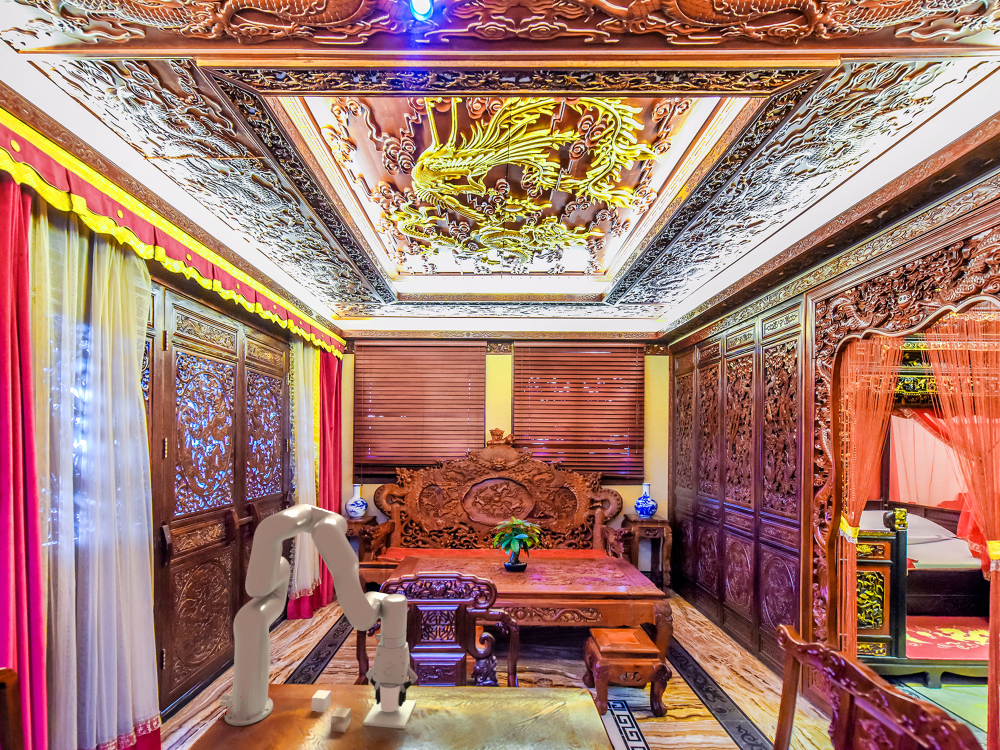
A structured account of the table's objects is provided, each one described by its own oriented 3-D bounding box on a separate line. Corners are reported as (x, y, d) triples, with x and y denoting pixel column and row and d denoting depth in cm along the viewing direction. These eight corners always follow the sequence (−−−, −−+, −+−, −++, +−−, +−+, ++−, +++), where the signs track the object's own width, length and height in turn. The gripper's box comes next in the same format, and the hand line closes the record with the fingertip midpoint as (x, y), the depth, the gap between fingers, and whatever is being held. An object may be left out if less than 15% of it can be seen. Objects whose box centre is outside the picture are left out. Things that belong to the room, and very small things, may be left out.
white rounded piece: (396, 715, 137) (397, 689, 138) (374, 711, 138) (375, 686, 139) (406, 701, 144) (406, 676, 144) (384, 698, 145) (385, 673, 146)
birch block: (330, 731, 133) (331, 715, 133) (336, 722, 137) (337, 707, 137) (344, 732, 132) (345, 717, 133) (350, 723, 136) (351, 708, 137)
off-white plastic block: (311, 711, 141) (311, 697, 142) (317, 703, 145) (318, 689, 146) (324, 713, 141) (324, 698, 141) (330, 704, 145) (331, 691, 145)
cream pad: (363, 725, 136) (363, 722, 136) (378, 700, 147) (378, 697, 148) (404, 728, 134) (404, 725, 134) (416, 703, 146) (416, 700, 146)
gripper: (360, 643, 140) (357, 708, 138) (418, 647, 138) (415, 713, 137) (369, 631, 147) (366, 693, 146) (424, 635, 146) (422, 697, 144)
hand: (390, 702), depth 141 cm, fingers closed on white rounded piece, 6 cm apart
